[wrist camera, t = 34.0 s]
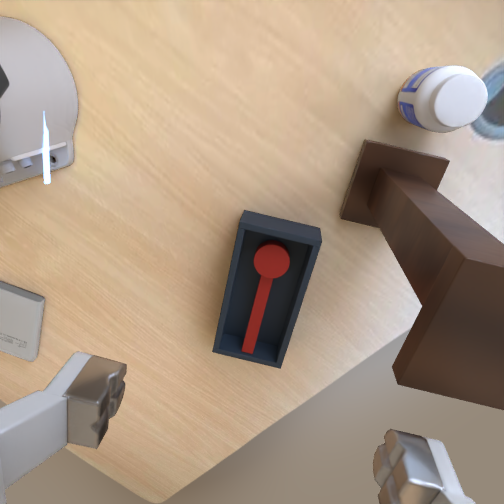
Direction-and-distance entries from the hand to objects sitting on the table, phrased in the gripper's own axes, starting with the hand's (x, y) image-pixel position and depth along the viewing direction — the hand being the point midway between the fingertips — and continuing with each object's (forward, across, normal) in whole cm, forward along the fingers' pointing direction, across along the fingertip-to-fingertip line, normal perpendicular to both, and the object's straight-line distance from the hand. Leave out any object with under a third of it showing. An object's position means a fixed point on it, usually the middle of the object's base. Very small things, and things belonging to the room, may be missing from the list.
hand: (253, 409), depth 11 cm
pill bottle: (+35, -12, -10) cm, 38 cm away
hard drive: (+35, +34, +33) cm, 59 cm away
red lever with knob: (+33, -2, +17) cm, 37 cm away
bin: (+35, -2, +16) cm, 38 cm away
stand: (+35, -12, 0) cm, 37 cm away
